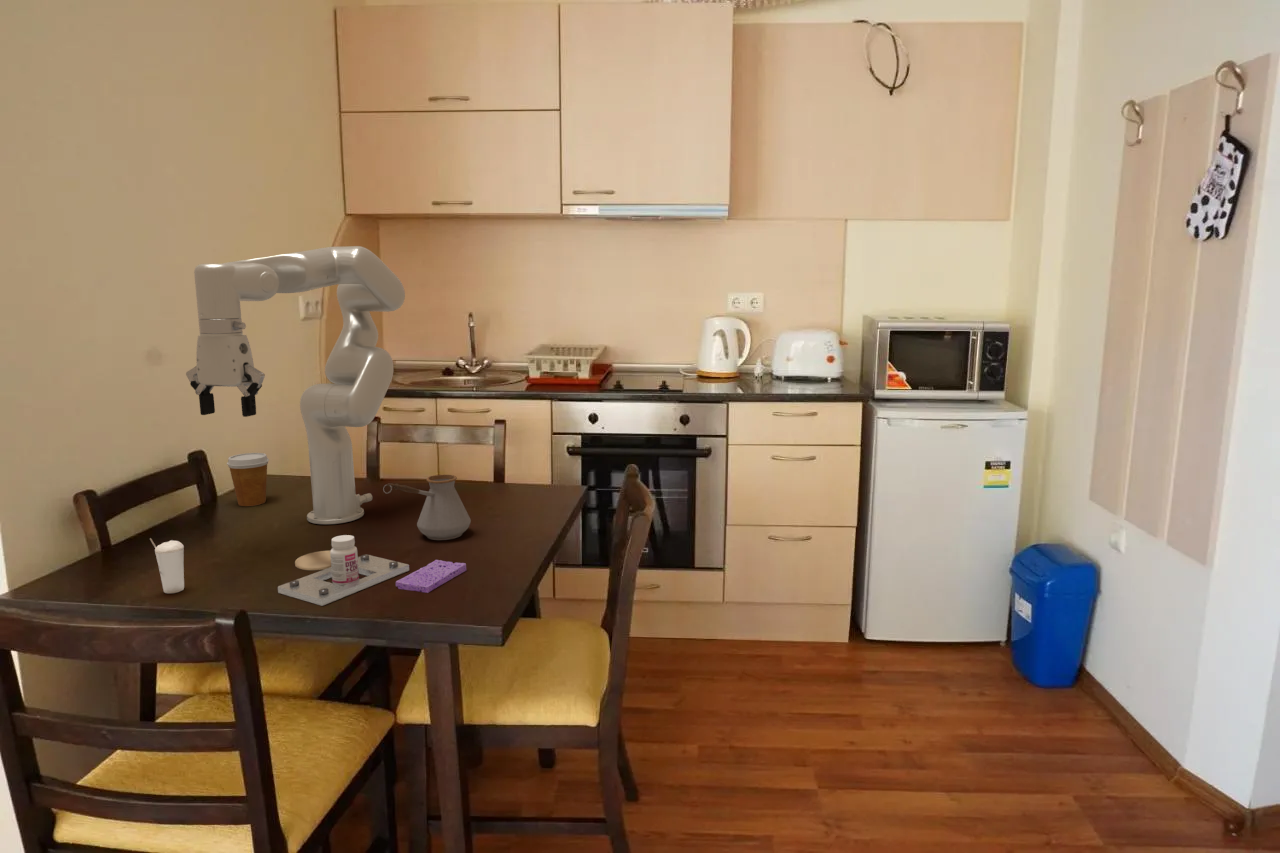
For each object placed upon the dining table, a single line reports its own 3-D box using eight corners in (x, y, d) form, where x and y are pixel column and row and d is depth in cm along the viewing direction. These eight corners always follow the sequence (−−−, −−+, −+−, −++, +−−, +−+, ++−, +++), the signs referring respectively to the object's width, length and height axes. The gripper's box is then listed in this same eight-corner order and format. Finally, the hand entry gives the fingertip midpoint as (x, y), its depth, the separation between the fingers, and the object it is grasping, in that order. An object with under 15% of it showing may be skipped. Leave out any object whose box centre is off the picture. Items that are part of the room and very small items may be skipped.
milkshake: (162, 586, 154) (156, 534, 152) (192, 585, 154) (186, 533, 152) (150, 595, 149) (143, 542, 147) (181, 594, 150) (175, 541, 148)
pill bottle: (350, 587, 153) (347, 542, 151) (327, 585, 153) (323, 541, 152) (364, 577, 157) (361, 534, 156) (341, 576, 158) (338, 533, 157)
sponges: (466, 572, 161) (466, 563, 160) (427, 596, 149) (427, 586, 149) (436, 568, 163) (435, 559, 163) (395, 590, 152) (394, 581, 152)
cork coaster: (326, 550, 173) (326, 547, 173) (359, 558, 168) (359, 555, 168) (284, 564, 164) (284, 561, 164) (317, 573, 159) (317, 570, 159)
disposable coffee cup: (259, 496, 216) (255, 450, 214) (280, 501, 210) (276, 455, 208) (223, 504, 208) (218, 457, 206) (244, 510, 203) (239, 462, 201)
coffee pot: (443, 524, 190) (440, 460, 188) (482, 531, 184) (479, 465, 182) (370, 551, 172) (365, 480, 170) (410, 560, 166) (406, 487, 164)
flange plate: (366, 560, 167) (365, 551, 166) (409, 570, 161) (408, 561, 160) (278, 592, 150) (277, 583, 150) (322, 605, 144) (321, 596, 144)
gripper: (272, 327, 164) (278, 413, 167) (198, 326, 168) (205, 410, 171) (245, 329, 157) (252, 419, 160) (168, 328, 161) (177, 416, 164)
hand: (228, 414), depth 165 cm, fingers open, 9 cm apart
